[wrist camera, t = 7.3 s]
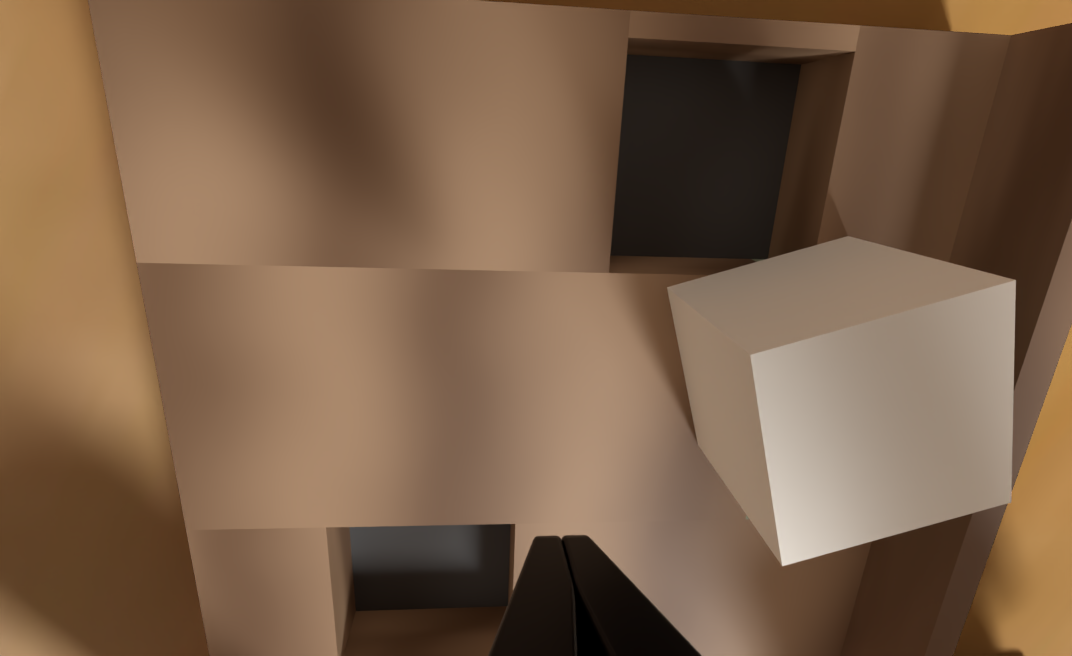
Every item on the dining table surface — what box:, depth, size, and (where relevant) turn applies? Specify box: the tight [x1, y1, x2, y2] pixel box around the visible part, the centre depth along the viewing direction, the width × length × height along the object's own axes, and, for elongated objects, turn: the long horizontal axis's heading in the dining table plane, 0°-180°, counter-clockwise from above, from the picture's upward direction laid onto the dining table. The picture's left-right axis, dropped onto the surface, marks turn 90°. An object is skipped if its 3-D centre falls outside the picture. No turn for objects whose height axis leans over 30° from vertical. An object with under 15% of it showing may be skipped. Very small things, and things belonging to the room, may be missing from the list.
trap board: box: [88, 0, 1072, 656], centre depth 14 cm, size 20×18×5 cm
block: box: [667, 236, 1016, 566], centre depth 12 cm, size 4×4×4 cm
